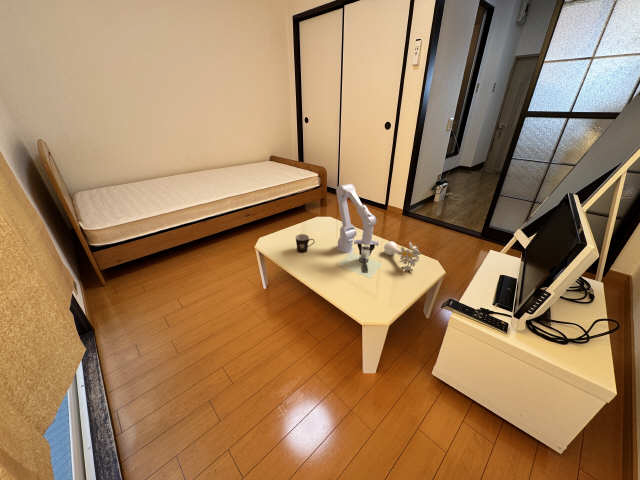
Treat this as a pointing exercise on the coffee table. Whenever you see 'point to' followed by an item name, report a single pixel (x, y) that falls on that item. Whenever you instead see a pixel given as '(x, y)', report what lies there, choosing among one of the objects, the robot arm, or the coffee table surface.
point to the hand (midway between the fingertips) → (364, 254)
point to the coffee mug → (302, 243)
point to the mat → (359, 265)
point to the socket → (365, 252)
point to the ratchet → (364, 264)
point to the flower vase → (403, 253)
